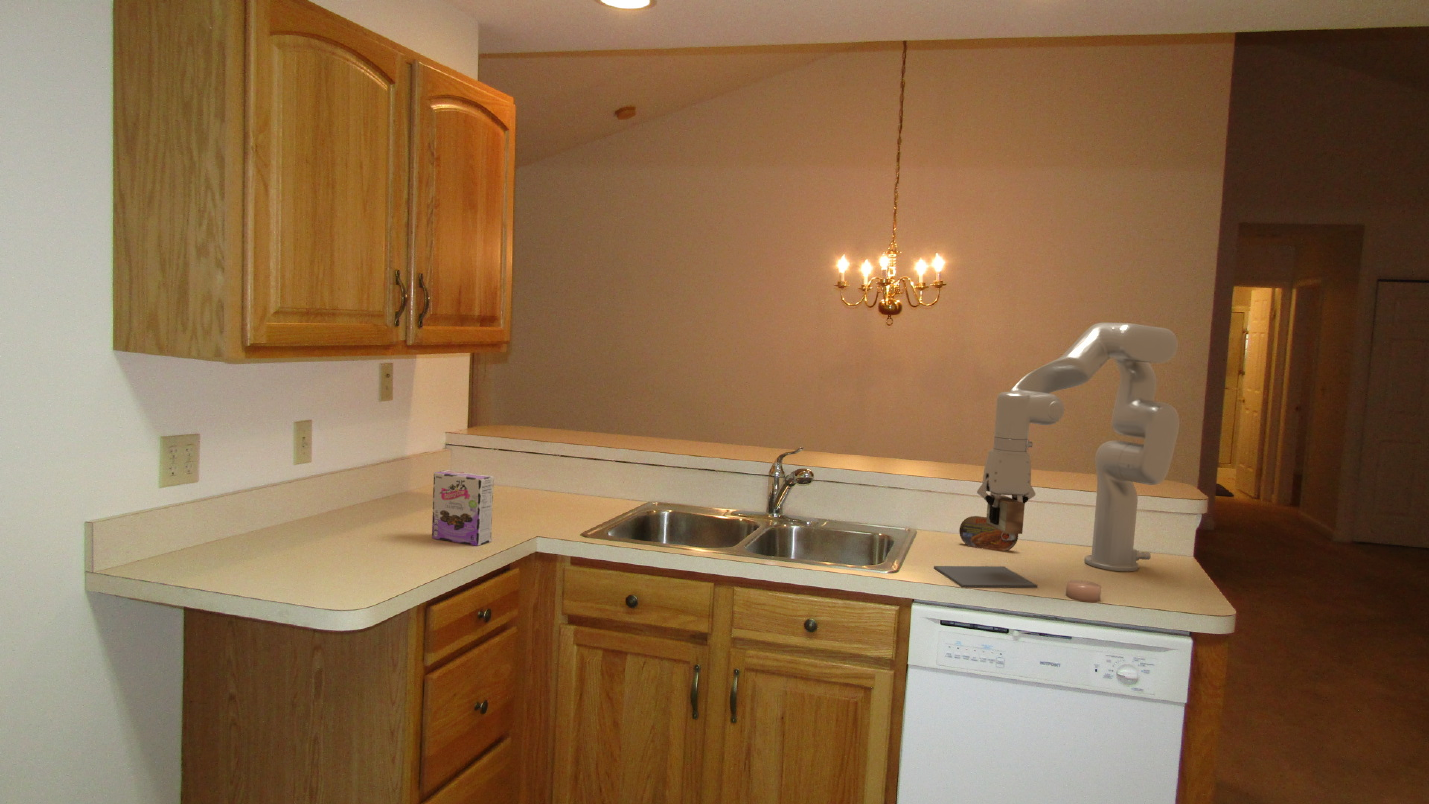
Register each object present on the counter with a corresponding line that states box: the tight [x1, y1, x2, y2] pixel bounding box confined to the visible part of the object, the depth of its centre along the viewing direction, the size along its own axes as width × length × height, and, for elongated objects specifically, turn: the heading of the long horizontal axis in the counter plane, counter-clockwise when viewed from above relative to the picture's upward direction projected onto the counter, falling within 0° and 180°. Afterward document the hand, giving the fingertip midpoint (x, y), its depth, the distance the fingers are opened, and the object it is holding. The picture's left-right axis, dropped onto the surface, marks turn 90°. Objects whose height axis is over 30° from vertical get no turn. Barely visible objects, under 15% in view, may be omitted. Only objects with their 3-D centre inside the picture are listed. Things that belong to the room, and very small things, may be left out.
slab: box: [985, 495, 1026, 535], centre depth 215 cm, size 4×10×7 cm, turn 10°
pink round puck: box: [1065, 579, 1102, 603], centre depth 203 cm, size 7×7×3 cm
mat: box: [933, 565, 1038, 589], centre depth 215 cm, size 18×16×1 cm
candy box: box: [431, 469, 495, 547], centre depth 225 cm, size 14×6×16 cm, turn 68°
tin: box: [958, 515, 1019, 552], centre depth 246 cm, size 15×3×8 cm, turn 62°
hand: (1003, 523), depth 215 cm, fingers closed on slab, 4 cm apart
